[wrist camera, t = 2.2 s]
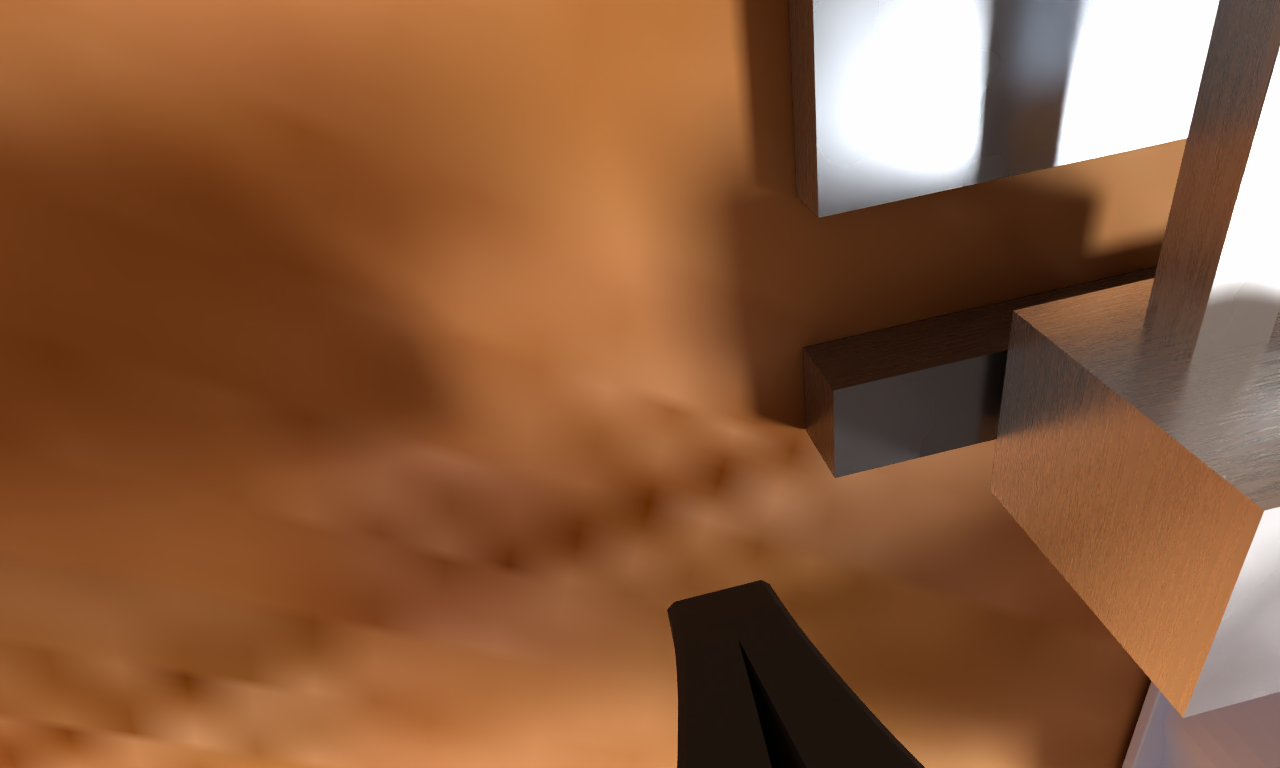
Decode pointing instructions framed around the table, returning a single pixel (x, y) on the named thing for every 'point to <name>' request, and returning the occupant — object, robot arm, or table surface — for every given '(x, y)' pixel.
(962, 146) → the bolt hole plate
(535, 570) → the table surface
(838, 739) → the robot arm
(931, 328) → the bar
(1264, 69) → the sliding divider leg
